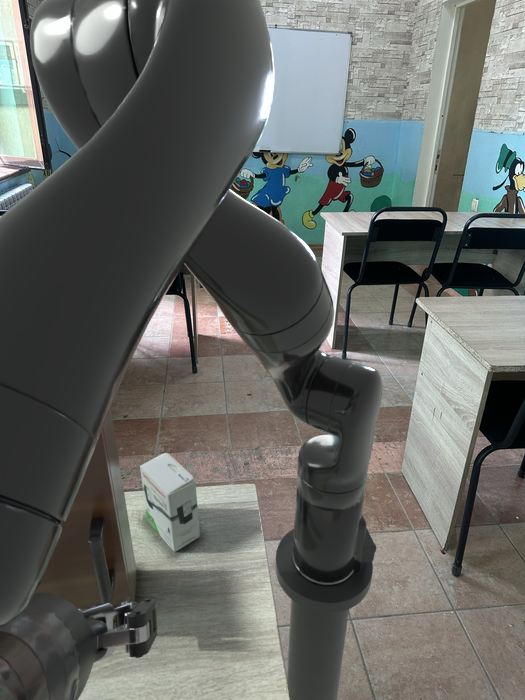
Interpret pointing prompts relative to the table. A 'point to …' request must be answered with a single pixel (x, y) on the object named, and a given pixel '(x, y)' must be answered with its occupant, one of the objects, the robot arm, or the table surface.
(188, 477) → the ink box
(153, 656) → the table surface
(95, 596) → the cabinet door
